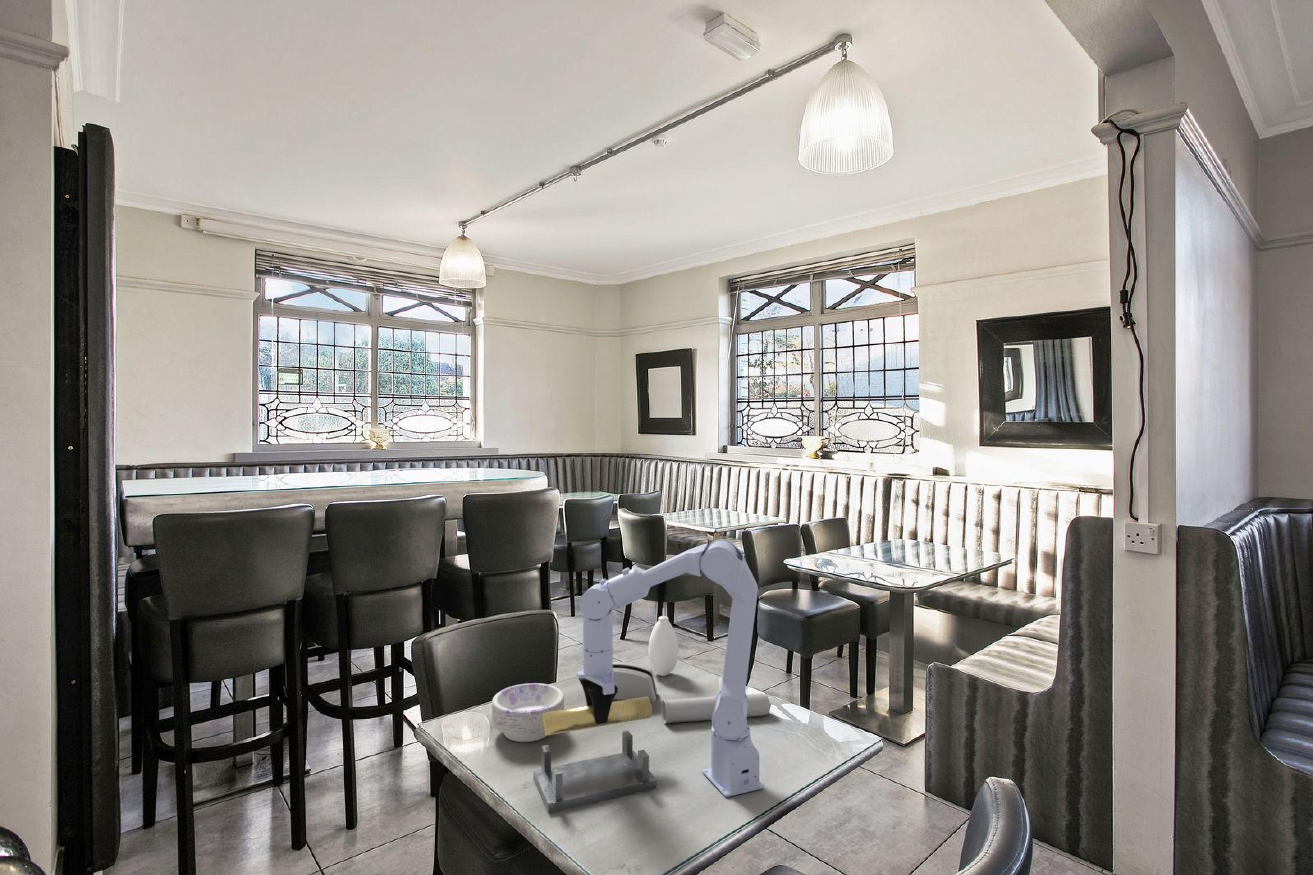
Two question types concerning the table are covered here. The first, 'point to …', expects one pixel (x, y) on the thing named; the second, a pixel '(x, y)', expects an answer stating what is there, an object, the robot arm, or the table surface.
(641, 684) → the white rounded block
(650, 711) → the brass pin
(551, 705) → the paper bowls
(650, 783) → the corner post stand
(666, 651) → the white air blower bulb
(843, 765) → the table surface
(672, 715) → the tube
